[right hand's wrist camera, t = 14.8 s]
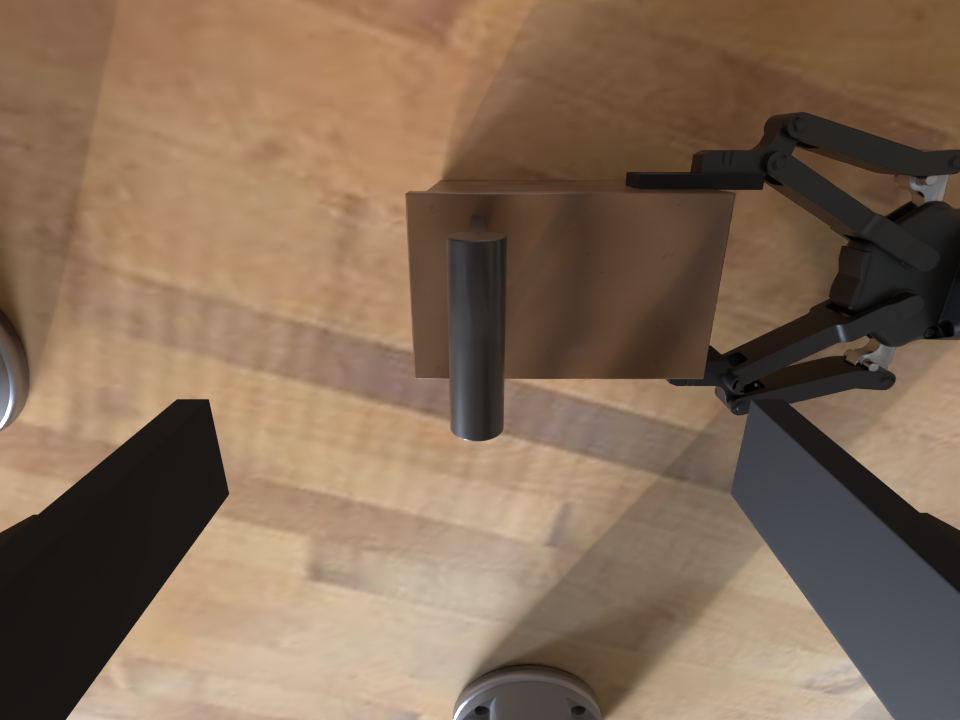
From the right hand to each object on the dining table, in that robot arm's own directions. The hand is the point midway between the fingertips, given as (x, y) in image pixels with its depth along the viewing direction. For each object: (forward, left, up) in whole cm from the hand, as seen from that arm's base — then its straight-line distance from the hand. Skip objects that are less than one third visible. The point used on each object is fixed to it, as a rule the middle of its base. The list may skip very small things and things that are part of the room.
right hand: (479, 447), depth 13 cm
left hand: (+5, -7, -19) cm, 21 cm away
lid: (+2, -4, -16) cm, 17 cm away
